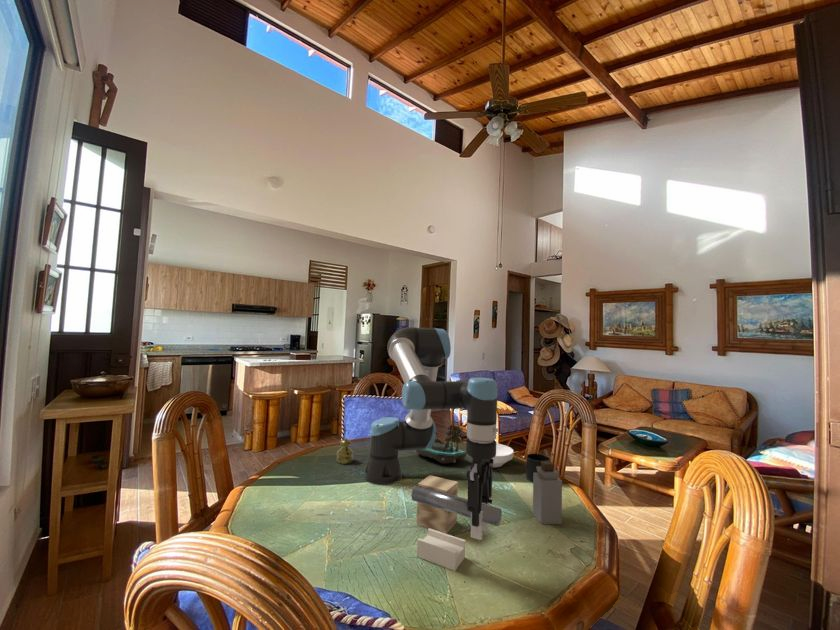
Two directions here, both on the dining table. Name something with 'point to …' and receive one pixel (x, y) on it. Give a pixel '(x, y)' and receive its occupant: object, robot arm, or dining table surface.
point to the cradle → (441, 549)
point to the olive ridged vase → (345, 452)
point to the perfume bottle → (547, 494)
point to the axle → (454, 504)
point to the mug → (534, 464)
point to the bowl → (502, 455)
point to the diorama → (445, 447)
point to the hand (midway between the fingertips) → (479, 533)
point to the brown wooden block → (433, 515)
